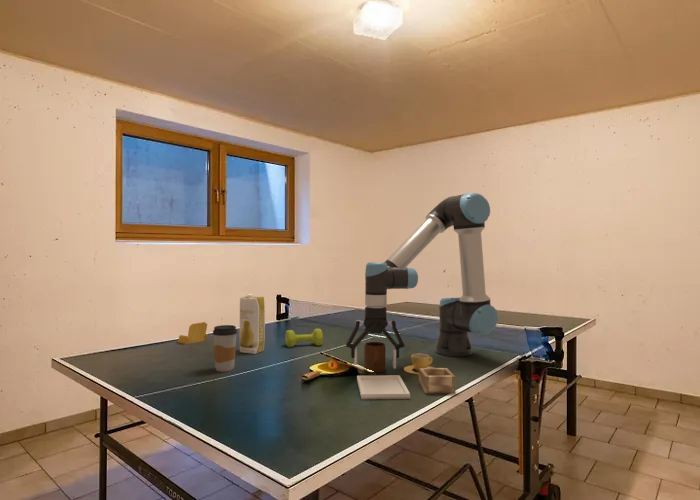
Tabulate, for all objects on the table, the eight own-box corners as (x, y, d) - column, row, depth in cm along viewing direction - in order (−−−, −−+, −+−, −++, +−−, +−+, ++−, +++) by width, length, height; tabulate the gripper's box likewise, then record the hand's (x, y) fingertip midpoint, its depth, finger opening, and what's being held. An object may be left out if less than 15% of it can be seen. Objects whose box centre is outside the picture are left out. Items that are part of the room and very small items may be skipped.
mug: (388, 377, 143) (388, 349, 143) (365, 377, 143) (365, 349, 143) (384, 367, 155) (384, 341, 155) (363, 367, 155) (363, 341, 155)
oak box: (446, 383, 137) (446, 368, 137) (455, 393, 128) (455, 376, 128) (418, 383, 136) (419, 368, 136) (425, 393, 127) (425, 376, 127)
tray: (399, 379, 140) (399, 375, 140) (410, 398, 122) (410, 393, 122) (357, 380, 140) (357, 375, 140) (361, 399, 122) (361, 394, 122)
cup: (416, 377, 144) (416, 361, 144) (397, 368, 155) (397, 353, 155) (444, 373, 150) (445, 357, 150) (424, 364, 160) (424, 350, 160)
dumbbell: (320, 343, 196) (320, 327, 196) (324, 346, 188) (324, 330, 188) (284, 345, 191) (284, 328, 191) (286, 349, 184) (286, 332, 184)
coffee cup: (241, 367, 154) (241, 325, 154) (227, 373, 146) (228, 329, 146) (221, 365, 157) (222, 324, 157) (207, 371, 149) (207, 328, 149)
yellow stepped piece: (197, 338, 204) (197, 319, 204) (209, 341, 198) (209, 321, 198) (176, 342, 195) (176, 322, 195) (188, 345, 189) (189, 324, 189)
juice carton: (236, 352, 176) (237, 294, 176) (248, 348, 183) (248, 292, 183) (256, 355, 172) (256, 295, 172) (266, 350, 179) (267, 293, 180)
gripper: (409, 305, 153) (408, 364, 153) (339, 304, 152) (338, 364, 152) (413, 308, 146) (412, 370, 146) (340, 307, 145) (339, 370, 145)
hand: (374, 367), depth 149 cm, fingers open, 13 cm apart
